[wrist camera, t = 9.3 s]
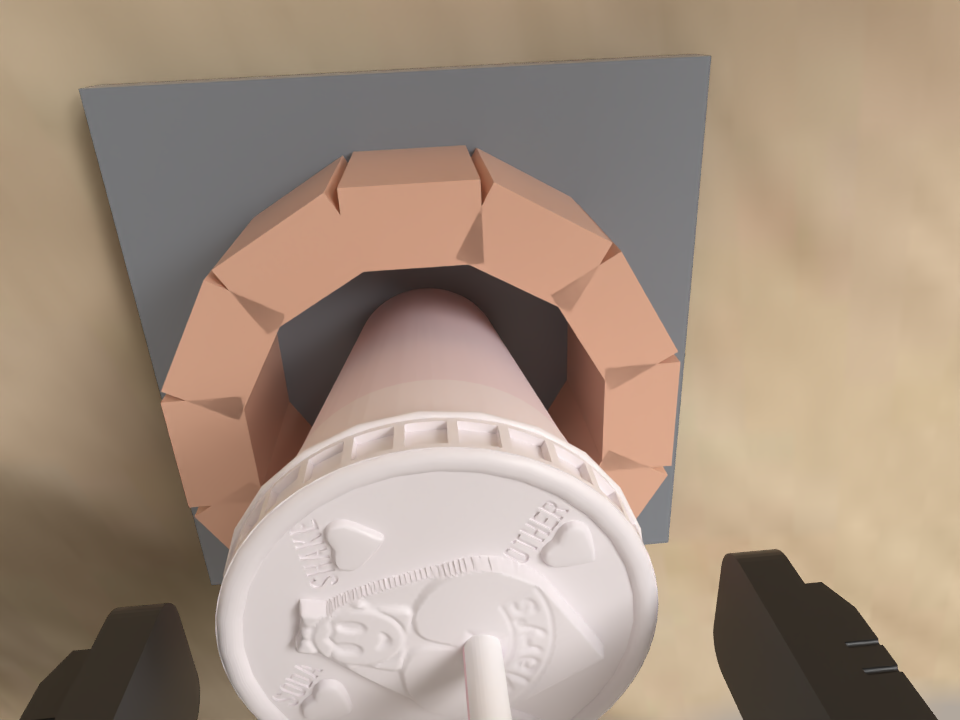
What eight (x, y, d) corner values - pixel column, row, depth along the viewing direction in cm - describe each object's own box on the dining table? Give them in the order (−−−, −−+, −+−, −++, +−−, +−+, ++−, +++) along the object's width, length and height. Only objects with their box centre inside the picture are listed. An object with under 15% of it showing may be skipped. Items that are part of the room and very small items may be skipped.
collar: (695, 54, 17) (796, 66, 13) (658, 522, 23) (717, 642, 19) (97, 85, 16) (-23, 109, 12) (219, 562, 22) (171, 698, 18)
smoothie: (519, 469, 21) (689, 1171, 8) (293, 442, 20) (80, 1197, 7) (574, 258, 18) (953, 803, 5) (317, 214, 17) (47, 758, 4)
